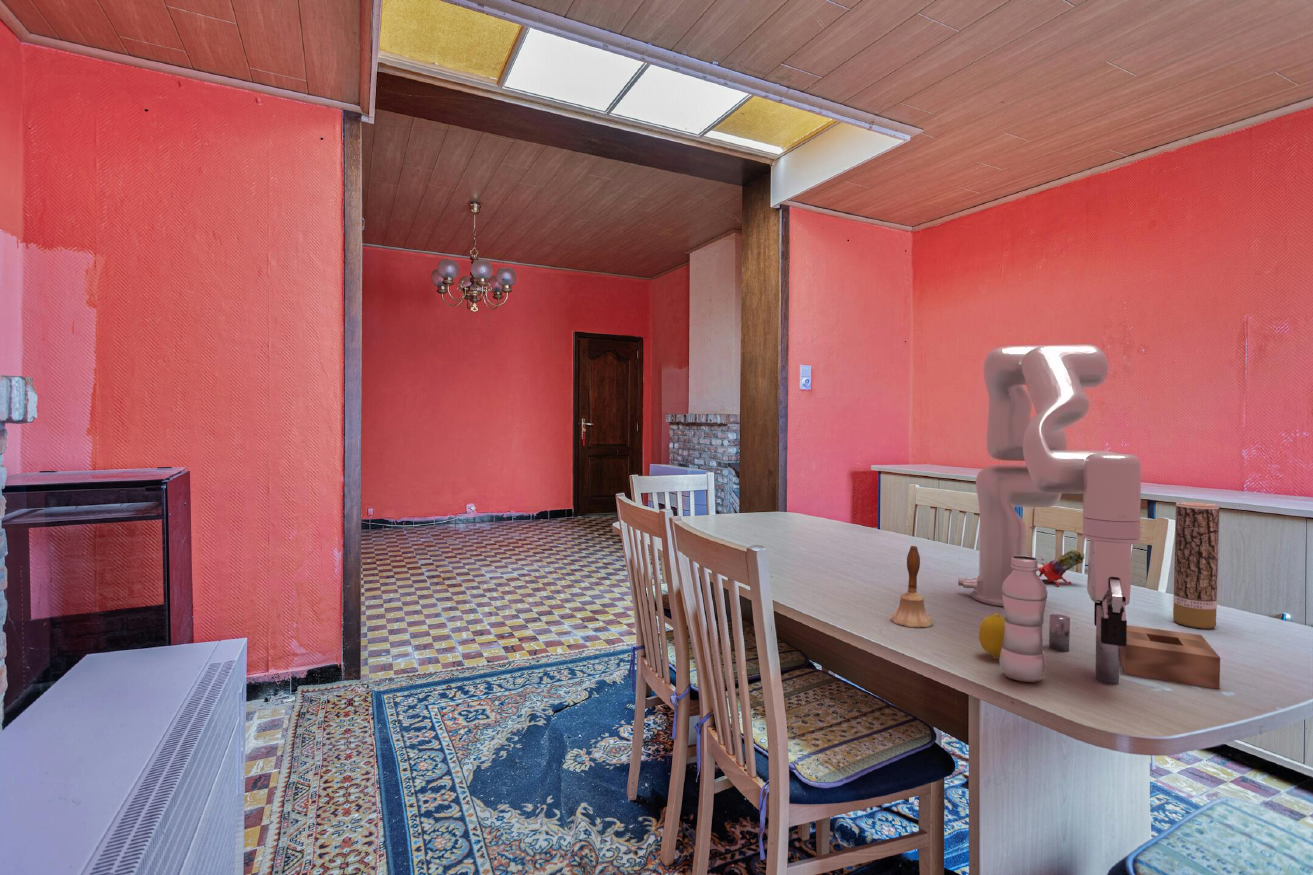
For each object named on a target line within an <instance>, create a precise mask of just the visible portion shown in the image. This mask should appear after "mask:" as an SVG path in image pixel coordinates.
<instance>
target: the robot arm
mask: <svg viewBox="0 0 1313 875" xmlns="http://www.w3.org/2000/svg"><path fill="white" fill-rule="evenodd" d="M1108 372H1109V362H1108V358H1107V355H1105V353H1104V352H1103V350H1102V349H1100V347H1098V346H1096V345H1093V344H1050V345H1049V344H1048V345H1045V344H1044V345H1043V344H1041V345H1034V344H1033V345H1031V344H1030V345H1029V344H1027V345H1009V346H1000V347H997V348H994V349H993V350H990V351H989V352H988V354H987V355H986V357H985V359H984V363H983V378H984V383H985V386H986V390H987V394H988V395H987V396H988V410H987V411H988V413H987V429H986V450H987V453H988V455H989V456H990V457H991V458H992V459H994V460H999V461H1008V462H1016V461H1017V462H1022V461H1023V462H1025V465H1016V464H1015V465H1012V464H1011V465H1007V464H1006V465H1005V464H1003V465H1001V464H999V465H990V466H987V467H984V468H982V469H981V470H979V472H978V473H977V475H976V478H975V486H976V487H975V488H976V494H977V495H976V496H977V500H978V507H979V549H978V550H979V554H978V556H979V558H978V562H979V564H978V565H979V566H978V575H977V578H975V577H973V578H972V579H971V578H966V577H958V578H957V579H958V581H957V586H959V587H962V588H964V589H965V588H966V589H973V590H972V591H971V597H972V598H973V600H975V601H978V602H980V603H984V604H987V605H992V606H996V607H997V606H999V607H1004V605H1003V597H1002V585H1003V582H1004V581H1005V580H1006V578H1007V577H1008V576H1009V575H1010V574H1011V573H1012V572H1013V569H1012V568H1011V564H1012V556H1027V527H1026V524H1025V522H1024V519H1022V518H1021V516H1020V515H1019V514H1018V513H1017V511H1016V509H1015V508H1027V507H1028V508H1051V507H1053V506H1055V505H1057V504H1058V503H1059V502H1060V500H1061V497H1062V495H1063V494H1074V495H1075V494H1077V495H1078V494H1079V495H1080V494H1081V495H1083V496H1082V538H1085V539H1087V540H1089V544H1088V545H1089V546H1088V559H1087V560H1088V561H1087V563H1088V564H1087V586H1086V590H1087V591H1086V592H1087V593H1088V595H1089V597H1090V598H1089V599H1091V601H1092V602H1094V616H1093V618H1094V619H1093V624H1094V626H1095V627H1096V614H1097V605H1103V617H1101V642H1102V643H1104V644H1110V645H1117V646H1126V644H1127V625H1128V624H1127V623H1128V620H1127V615H1126V606H1128V605H1129V604H1130V602H1131V601H1130V600H1131V590H1132V589H1131V587H1132V586H1131V585H1132V584H1131V583H1132V544H1134V543H1135V544H1136V543H1140V542H1141V508H1142V507H1141V503H1142V502H1141V498H1142V497H1141V494H1142V490H1141V489H1142V487H1141V486H1142V485H1141V484H1142V464H1141V461H1140V458H1138V456H1136V455H1133V454H1128V453H1127V454H1126V453H1117V452H1115V451H1107V450H1075V449H1074V450H1069V449H1068V448H1067V446H1068V443H1067V442H1068V440H1067V435H1066V432H1065V428H1067V427H1069V426H1072V425H1074V424H1075V423H1077V422H1079V421H1081V420H1082V419H1084V417H1085V416H1086V415H1087V413H1088V412H1089V410H1090V401H1089V398H1088V396H1087V394H1086V392H1085V390H1084V388H1096V387H1098V386H1101V385H1102V384H1103V383H1104V381H1105V380H1106V379H1107V377H1108ZM1025 385H1026V387H1027V389H1026V388H1025ZM1032 405H1033V406H1034V410H1035V411H1036V415H1034V417H1033V418H1032V417H1031V415H1032ZM1067 449H1068V450H1067ZM1107 605H1108V606H1107Z"/></svg>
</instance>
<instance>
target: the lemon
mask: <svg viewBox="0 0 1313 875" xmlns="http://www.w3.org/2000/svg"><path fill="white" fill-rule="evenodd" d="M1004 629H1005V619H1004V617H1003V616H1002V615H1000V614H999V613H994V614H992V615H988V616H986V617H985V618H984V619H982V621H981V623H980V625H979V629H978V630H979V631H978V639H979V640H978V641H979V643H980V645H981V647H982V648H983V650H984V651H985V652H987V653H988V654H990V655H991V656H992V657H993V658H994V659H999V658H1000V652H1001V649H1002V647H1003V637H1004Z"/></svg>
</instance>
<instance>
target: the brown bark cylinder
mask: <svg viewBox="0 0 1313 875" xmlns="http://www.w3.org/2000/svg"><path fill="white" fill-rule="evenodd" d="M1219 506H1220V505H1218V504H1213V503H1208V502H1207V503H1206V502H1192V501H1191V502H1190V501H1179V502H1178V501H1177V502H1176V503H1175V526H1174V527H1175V529H1174V530H1175V531H1174V558H1173V560H1174V564H1173V566H1174V568H1173V569H1174V570H1173V601H1172V602H1173V606H1172V607H1173V610H1172V611H1173V612H1172V617H1173V621H1174V622H1176V623H1177V624H1179V625H1182V626H1185V627H1187V628H1194V629H1201V630H1202V629H1205V630H1206V629H1207V630H1210V629H1213V628H1215V627H1216V625H1217V607H1218V606H1217V605H1218V604H1217V603H1218V575H1219V574H1218V570H1219V536H1220V534H1219V532H1220V507H1219Z"/></svg>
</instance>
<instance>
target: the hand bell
mask: <svg viewBox="0 0 1313 875" xmlns="http://www.w3.org/2000/svg"><path fill="white" fill-rule="evenodd" d="M920 556H921V555H920V552H919V550H918V546H916V545H910V548H909V550H908V554H907V557H906V568H907V572H908V582H907V583H908V586H907V592H905V593H903V594H901V595H900V599H899V600H900V601H899V605H898V608H897V610H896V611H895V613H893V614H892V615H891V616H890V621H891V620H892V621H891V622H892V623H893V624H896V625H899V624H900V625H899V626H902V625H904V627H909V628H914V627H918V629H920V628H919V627H926V628H929V627H930V628H931V627H933V625H934V622H933V620H932V619H931V618H930V617H929V615H928V613H927V611H926V608H925V603H924V602H925V600H924V597H923V596H922V595H920V594H918V592H917V588H918V586H917V585H918V583H917V582H918V579H917V578H918V573H919V571H920V567H921V557H920Z"/></svg>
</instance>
